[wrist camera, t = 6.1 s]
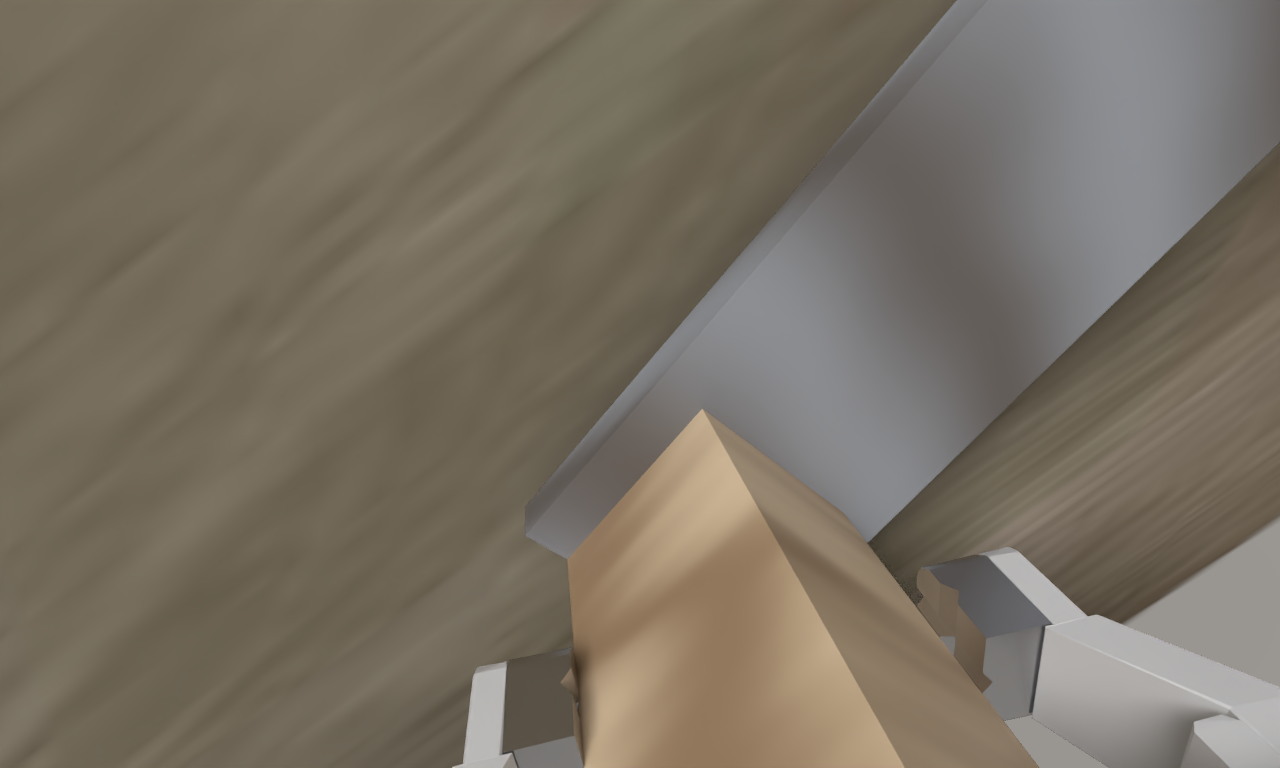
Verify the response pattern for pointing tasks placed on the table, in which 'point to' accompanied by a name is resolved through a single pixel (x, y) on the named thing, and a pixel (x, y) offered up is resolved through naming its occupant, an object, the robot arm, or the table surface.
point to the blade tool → (883, 381)
